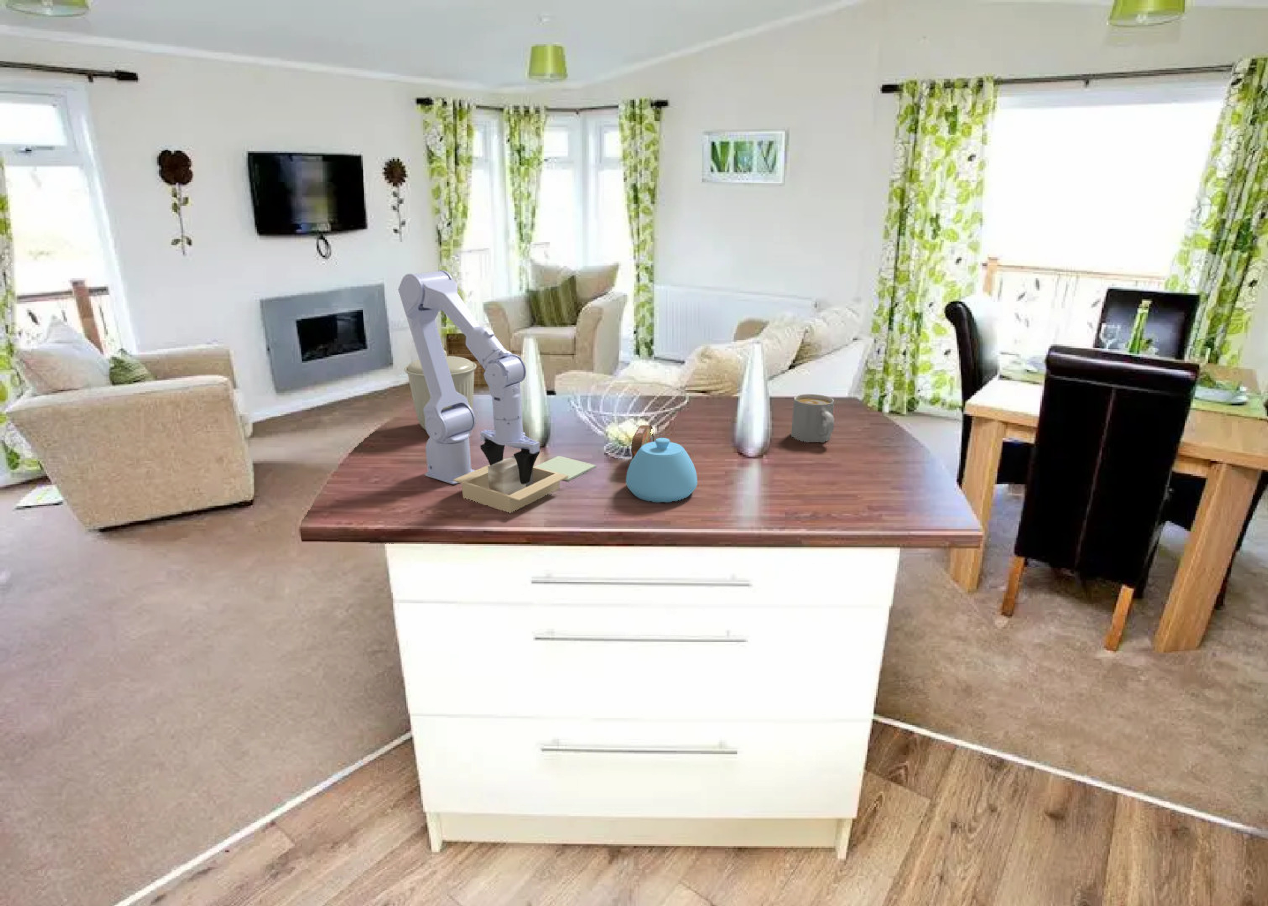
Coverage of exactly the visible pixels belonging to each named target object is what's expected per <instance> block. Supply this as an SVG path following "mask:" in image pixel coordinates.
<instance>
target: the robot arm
mask: <svg viewBox="0 0 1268 906" xmlns="http://www.w3.org/2000/svg"><path fill="white" fill-rule="evenodd" d="M458 287H459V286H458V283H457V281H455V280H454V279H453V277H452V275H451V273H450V272H449V271H447V270H443V269H440V270H437V271H436V270H435V271H430V272H429V271H428V272H421V273H407V274H405V275H404V276H403V277H402V279H401V281H400V284H399V286H398V289H397V290H398V293H399V294H398V295H399V297H400V301H401V304H402V306H403V311H404V314H405V317H406V319H407V323H408V327H409V329H410V333H411V336H412V339H413V343H414V347H415V349H416V352H417V353H416V354H417V356H418V360H420V363H421V366H422V370H423V373H424V376H425V380H426V383H427V386H428V390H429V393H430V396H431V398H430V400H429V401H428V403H427V404H426V406H425V407H424V409H423V411H424V415H425V428H426V430H425V431H426V433H427V435H428V436H429V438H428V440H427V441H426V444H425V457H426V466H427V472H425V473H424V475H425V476H426V477H428V478H431V479H435V480H437V481H438V480H439V481H442V482H445V483H447V484H452V485H456V484H459V483H458V482H455V481H453V479H456V478H458V477H461V476H463V475H466V474H468V473H470V472H473V471H475V469H474V468H473V469H472V461H471V460H472V459H471V449H470V448H471V447H470V436H472V431H473V429H475V427H476V424H477V423H476V421H477V420H476V415H475V412H474V410H473V409H471V407H470V406H469V403H468V400H467V398H466V397H465V396H463V395H461V394H460V393H458V392H456V390H455V387H454V383H453V380H452V377H451V373H450V370H449V366H448V363H447V360H446V356H445V353H444V350H445V349H444V347H443V344H442V339H441V336H440V334H439V330H438V327H437V323H436V318H437V316H438V315H439V312H441V311H442V312H443V313H444V314H445V316H447V317H448V319H450V321H451V322H452V323H453V324H454V325H455V326H456V327H457V328H458V330H460V332H461V333H462V334H463V335H464V336H465V346H466V348H467V349H468V350H469V351H470V353H471V354H472V355H473V357H474V358H475V359H476V360H477V361H478V363H479V364H480V365H481V366H482V368H483V370H485V371H484V372H483V377H484V380H485V383H486V384H487V386H488V390H489V391H488V392H489V394H490V396H491V401H492V412H493V413H492V415H493V426H494V427H493V430H490V429H484V430H482V431H480V432H479V433H480V434H479V435H480V441H481V442H484V443H482V444H480V446H479V447H480V450H481V451H482V452H483V454H484V456H485V458H486V459H487V461H488V463H489V464H488V465H493V464H495V463H498V462H500V461H502V460H503V459H504V452H505V446H506V447H511V448H514V449H519V451H517V452H515V453H513V456H514V457H515V459H516V462H517V465H518V469H519V477H520V482H521V484H526V483H528V482H530V478H531V473H532V469H533V466H534V465H535V463H536V460H537V458H538V456H539V455H540V453H541V452H540V449H541V448H540V442H539V441H536V440H534V439H532V438H531V437H528V436H526V432H524V428H523V410H522V409H523V406H522V390H521V389H522V388H521V383H522V382H523V381H524V380H525V378H526V375H527V368H526V365H525V363H524V361H523V359H522V357H521V356H520V355H517V354H515V353H512V352H511V351H508V350H507V349H506V348H505V347H504V346H503V345H502V343H501V342H500V340H499V339H498V338H497V337H496V335H495V333H494V331H493V330H491V329H490V328H489V327H486V326H485V327H484V326H480V324H479V323H478V322H477V319H475V317H474V316H473V314H472V312H471V311H470V310H469V308H468V307H467V306H466V305H467V304H465V302H464V300H463V299H462V298H461V296H460V295H459V294H458V293H459V292H458ZM443 349H444V350H443ZM448 406H452V407H451V408H447V409H444V410H442V409H443V408H445V407H448ZM534 467H535V466H534Z"/></svg>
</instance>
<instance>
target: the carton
mask: <svg viewBox="0 0 1268 906" xmlns="http://www.w3.org/2000/svg"><path fill="white" fill-rule="evenodd" d="M505 459H506V458H504V457H503V460H505ZM488 466H490V464H488V465H485V466H482V467H481V468H478V469H476V470H475V469H474V470H475V471H473V472H470V473H468V474H466V475H463V476H461V477H458V478H456V479H453V481H455V482H458V483H457V484H461V491H462V498H463V499H465V498H466V499H465V500H468V499H470V500H469V501H471V500H473V501H472V502H474V501H475V502H474V503H477V502H478V503H477V504H480V505H484V506H486V505H488V506H487V507H490V508H493V509H496V510H499V511H502V510H503V512H505V511H506V513H508V512H509V513H508V514H512V513H514V512H516V511H517V510H520V509H521V508H524V507H526V506H528V505H530V504H532V503H534V502H536V501H538V500H540V499H541V498H544V497H546V496H548V495H550V494H552V493H554V492H556V491H558V490H560V489H561V485H560V482H561V481H565V480H564V479H566V478H568V477H569V476H568V475H564V474H560V473H556V472H553V471H549V470H545V469H542V468H538V467H535V466H533V484H532V485H530V486H528V487H526V488H524V489H521V490H519V491H517V492H515V493H513V494H511V495H507V494H504V493H501V492H497V491H494V490H491V489H489V477H488ZM547 494H548V495H547ZM545 495H546V496H545ZM537 499H538V500H537ZM525 505H526V506H525ZM515 510H516V511H515ZM513 511H514V512H513ZM511 512H512V513H511Z"/></svg>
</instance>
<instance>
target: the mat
mask: <svg viewBox="0 0 1268 906" xmlns="http://www.w3.org/2000/svg"><path fill="white" fill-rule="evenodd" d="M534 467H538V468H542V469H545V470H549V471H553V472H556V473H560V474H564V475H568V476H569V477H568V478H566V479H564V480H563V481H567V482H570V481H572V480H574V479H576V478H578V477H580V476H581V475H583V473H584V474H586V473H588V472H590V471H591V469H592V468H594V469H596V468H597V465H596V464H592V463H588V462H584V461H581V460H577V459H573V458H569V457H565V456H561V455H557V456H555V457H552V458H551V459H548V460H546V461H544V462H541V463H539V464H537V465H535V466H534ZM589 470H590V471H589ZM592 470H593V469H592Z"/></svg>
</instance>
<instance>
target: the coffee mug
mask: <svg viewBox="0 0 1268 906" xmlns="http://www.w3.org/2000/svg"><path fill="white" fill-rule="evenodd" d="M834 405H835V400H834V398H832V397H830V396H827V395H823V394H817V393H804V394H799V395H796V396H794V397H793V406H792V418H791V420H792V421H791V433H790V437H791V438H792V437H794V438H795V439H794V438H793V439H794V440H796V439H797V440H796V441H799V440H800V442H803V441H804V442H803V443H809V442H821V443H826V442H828V440H829V441H830V440H831V437H832V436H831V435H832V434H833V431H834V428H835V418H834V408H835V406H834ZM825 441H826V442H825Z"/></svg>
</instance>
